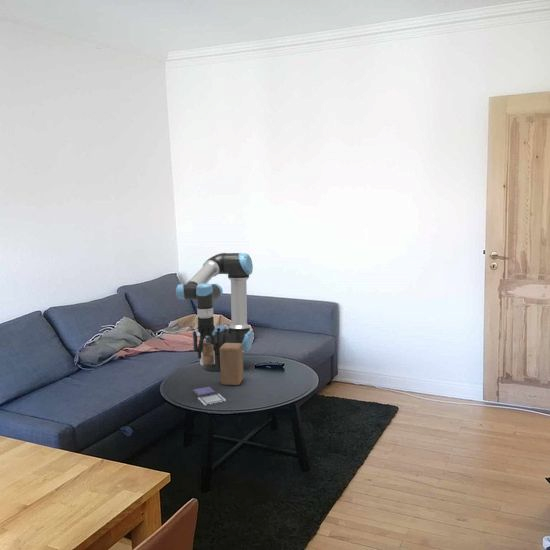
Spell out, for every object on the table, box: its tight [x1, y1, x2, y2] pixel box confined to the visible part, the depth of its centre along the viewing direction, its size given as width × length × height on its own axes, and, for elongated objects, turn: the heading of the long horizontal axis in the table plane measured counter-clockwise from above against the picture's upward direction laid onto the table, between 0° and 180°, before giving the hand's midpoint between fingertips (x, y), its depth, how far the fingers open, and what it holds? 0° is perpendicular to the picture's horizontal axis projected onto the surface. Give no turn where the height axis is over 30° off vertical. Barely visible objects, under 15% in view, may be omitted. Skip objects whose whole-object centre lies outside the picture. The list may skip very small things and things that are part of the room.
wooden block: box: [220, 343, 245, 386], centre depth 300 cm, size 10×10×20 cm
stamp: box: [201, 342, 214, 367], centre depth 276 cm, size 5×5×10 cm
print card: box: [197, 393, 227, 406], centre depth 279 cm, size 11×10×1 cm
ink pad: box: [192, 386, 217, 398], centre depth 288 cm, size 9×9×1 cm
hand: (207, 363), depth 277 cm, fingers closed on stamp, 5 cm apart
